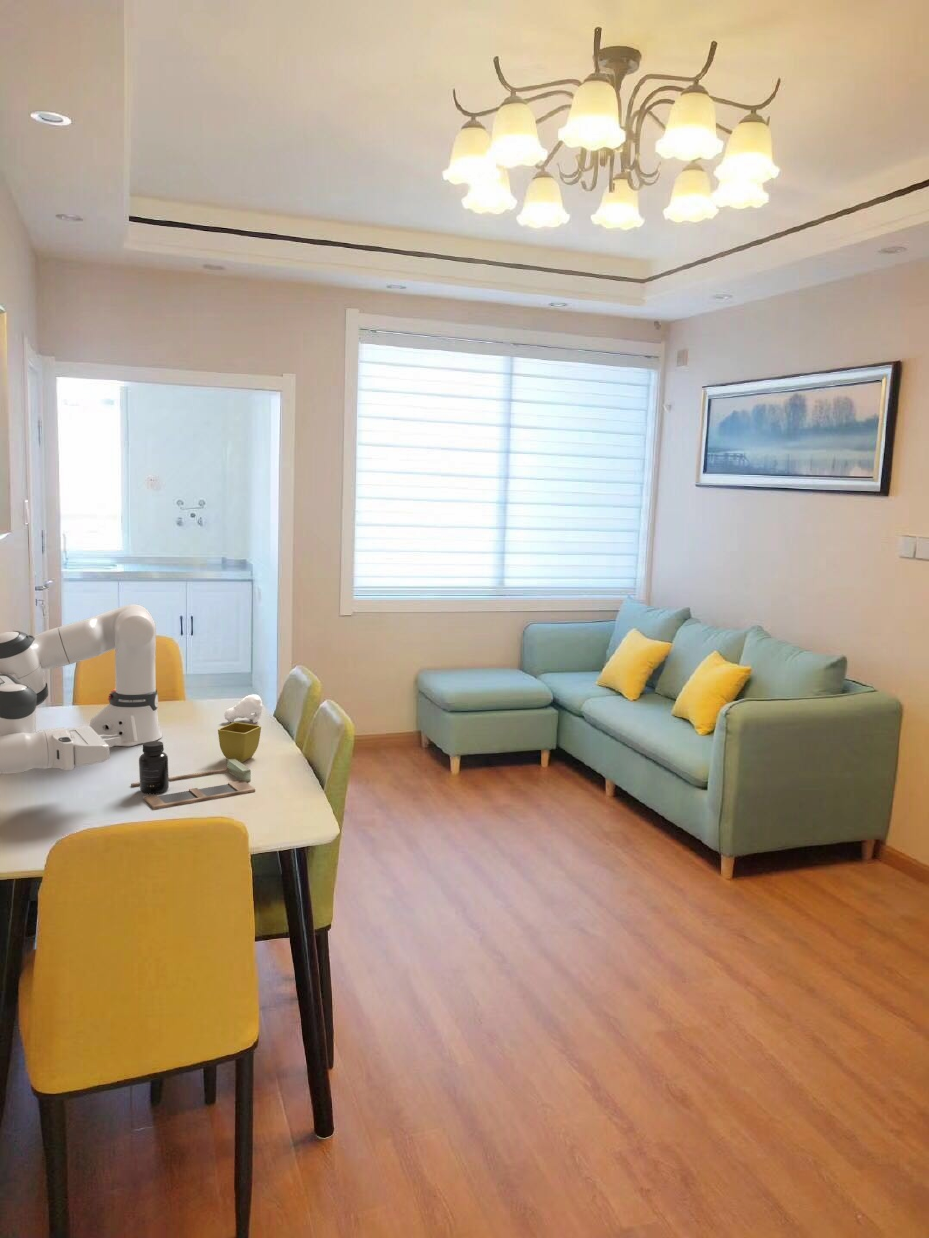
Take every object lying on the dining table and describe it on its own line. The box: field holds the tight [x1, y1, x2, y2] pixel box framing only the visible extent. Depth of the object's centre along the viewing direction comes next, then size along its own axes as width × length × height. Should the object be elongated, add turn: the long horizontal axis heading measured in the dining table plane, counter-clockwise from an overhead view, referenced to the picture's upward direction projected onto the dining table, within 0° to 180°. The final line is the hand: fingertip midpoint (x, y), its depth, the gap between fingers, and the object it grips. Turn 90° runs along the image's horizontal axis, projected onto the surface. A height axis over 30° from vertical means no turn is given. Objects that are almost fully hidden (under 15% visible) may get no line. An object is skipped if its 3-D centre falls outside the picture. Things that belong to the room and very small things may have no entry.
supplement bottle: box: [138, 740, 170, 795], centre depth 226 cm, size 7×7×12 cm
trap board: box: [130, 759, 256, 810], centre depth 229 cm, size 27×19×3 cm
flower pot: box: [217, 721, 262, 763], centre depth 253 cm, size 9×9×9 cm
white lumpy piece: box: [223, 694, 263, 724], centre depth 291 cm, size 6×8×12 cm
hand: (120, 739), depth 220 cm, fingers closed
